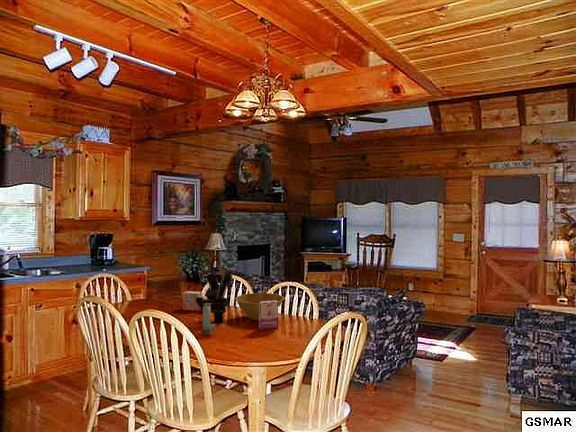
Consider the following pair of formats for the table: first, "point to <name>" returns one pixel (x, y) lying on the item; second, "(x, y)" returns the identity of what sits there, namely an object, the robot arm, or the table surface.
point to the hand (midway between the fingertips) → (209, 314)
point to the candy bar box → (268, 315)
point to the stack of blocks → (193, 301)
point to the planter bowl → (256, 302)
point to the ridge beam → (209, 332)
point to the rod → (206, 318)
